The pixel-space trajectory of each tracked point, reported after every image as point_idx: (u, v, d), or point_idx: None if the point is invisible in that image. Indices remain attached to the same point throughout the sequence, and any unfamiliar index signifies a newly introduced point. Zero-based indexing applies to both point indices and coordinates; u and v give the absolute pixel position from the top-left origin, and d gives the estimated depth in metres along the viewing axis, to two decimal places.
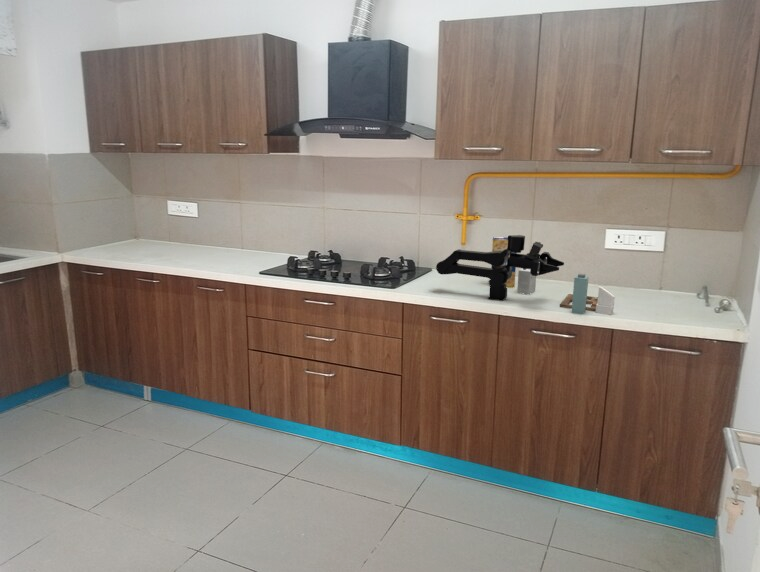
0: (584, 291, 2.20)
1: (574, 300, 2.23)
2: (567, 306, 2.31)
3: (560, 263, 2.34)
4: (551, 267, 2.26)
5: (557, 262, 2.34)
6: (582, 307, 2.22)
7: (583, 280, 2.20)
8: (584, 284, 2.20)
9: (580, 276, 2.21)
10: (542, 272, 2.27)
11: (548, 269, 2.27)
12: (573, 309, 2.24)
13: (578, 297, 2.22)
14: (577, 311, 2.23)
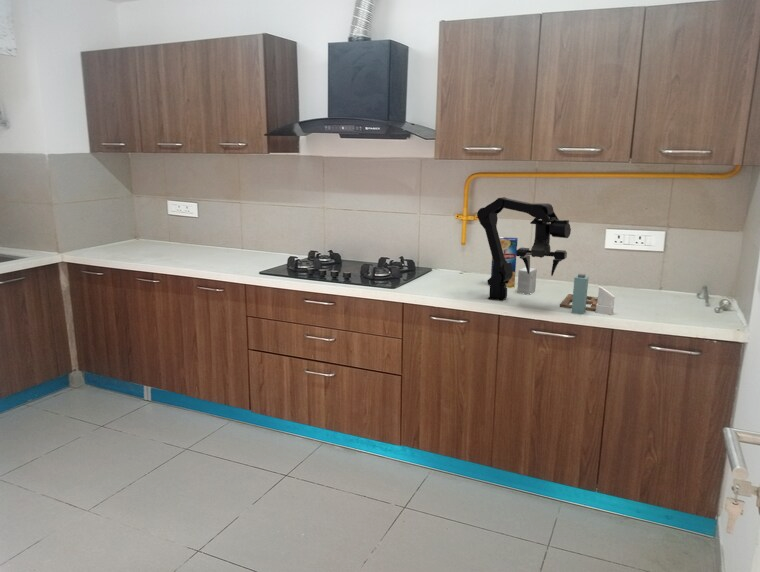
0: (584, 291, 2.20)
1: (574, 300, 2.23)
2: (567, 306, 2.31)
3: None
4: None
5: (552, 269, 2.28)
6: (582, 307, 2.22)
7: (583, 280, 2.20)
8: (584, 284, 2.20)
9: (580, 276, 2.21)
10: None
11: None
12: (573, 309, 2.24)
13: (578, 297, 2.22)
14: (577, 311, 2.23)
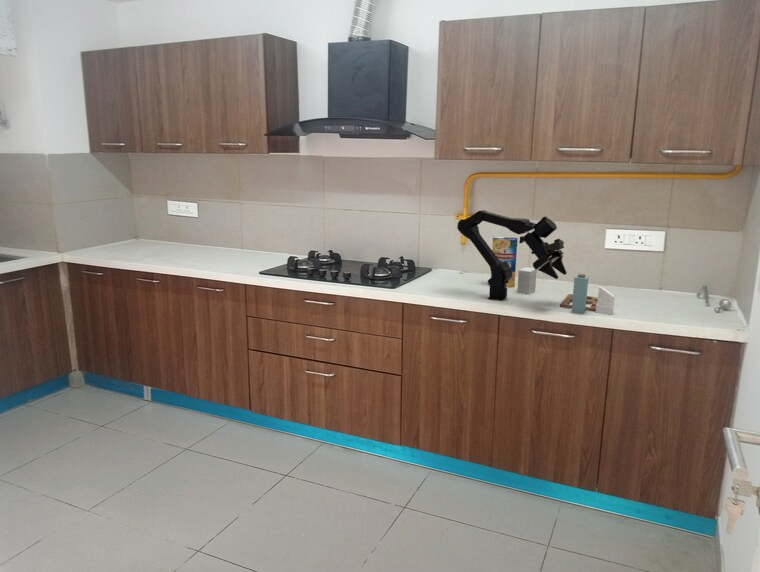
0: (584, 291, 2.20)
1: (574, 300, 2.23)
2: (567, 306, 2.31)
3: (563, 271, 2.30)
4: (552, 272, 2.23)
5: (562, 268, 2.30)
6: (582, 307, 2.22)
7: (583, 280, 2.20)
8: (584, 284, 2.20)
9: (580, 276, 2.21)
10: (542, 270, 2.24)
11: (549, 271, 2.23)
12: (573, 309, 2.24)
13: (578, 297, 2.22)
14: (577, 311, 2.23)
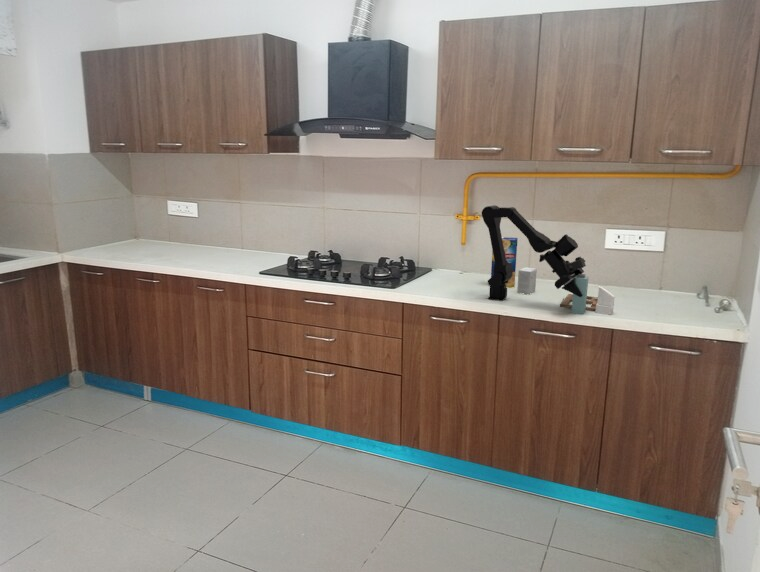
0: (584, 291, 2.20)
1: (574, 300, 2.23)
2: (567, 306, 2.31)
3: None
4: (576, 290, 2.20)
5: None
6: (582, 307, 2.22)
7: (583, 280, 2.20)
8: (584, 284, 2.20)
9: (580, 276, 2.21)
10: (566, 288, 2.22)
11: (573, 289, 2.21)
12: (573, 309, 2.24)
13: (578, 297, 2.22)
14: (577, 311, 2.23)
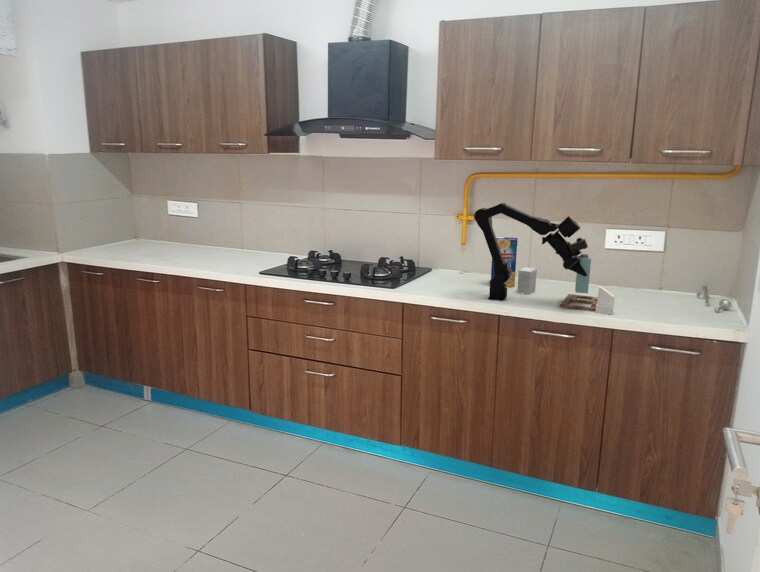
0: (588, 271, 2.27)
1: (579, 280, 2.28)
2: (567, 306, 2.31)
3: None
4: (582, 270, 2.26)
5: None
6: (586, 286, 2.28)
7: (588, 260, 2.26)
8: (589, 264, 2.26)
9: (584, 256, 2.27)
10: (572, 268, 2.27)
11: (578, 270, 2.26)
12: (577, 289, 2.29)
13: (582, 277, 2.28)
14: (581, 290, 2.29)
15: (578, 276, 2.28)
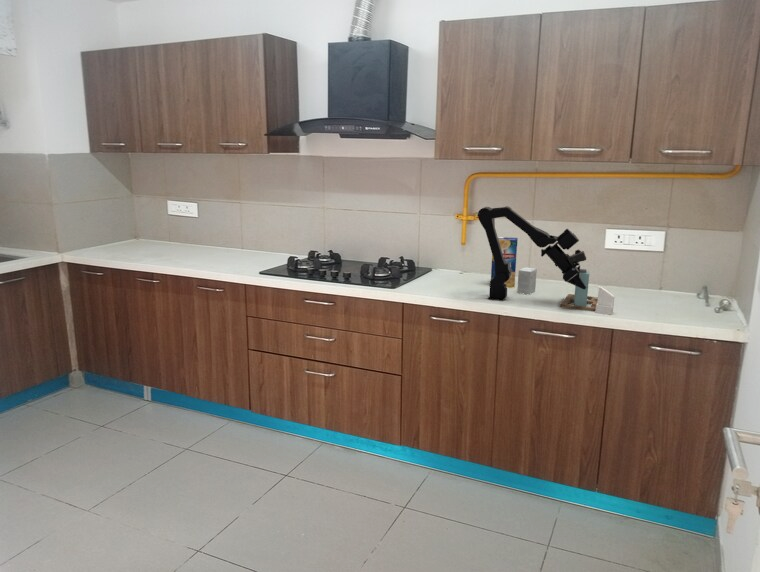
0: (587, 285, 2.29)
1: (577, 295, 2.31)
2: (567, 306, 2.31)
3: None
4: (581, 283, 2.27)
5: None
6: (585, 301, 2.31)
7: (586, 275, 2.29)
8: (587, 279, 2.29)
9: (582, 271, 2.30)
10: (571, 281, 2.27)
11: (577, 283, 2.27)
12: (576, 303, 2.32)
13: (581, 292, 2.31)
14: (580, 305, 2.32)
15: (576, 291, 2.31)
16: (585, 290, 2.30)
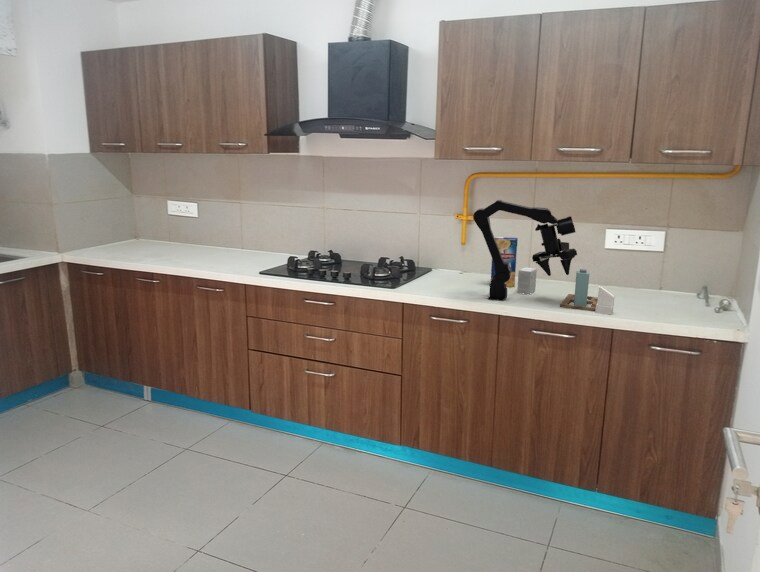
0: (587, 285, 2.29)
1: (577, 295, 2.31)
2: (567, 306, 2.31)
3: (549, 272, 2.40)
4: (568, 267, 2.31)
5: (548, 269, 2.40)
6: (585, 301, 2.31)
7: (586, 275, 2.29)
8: (587, 279, 2.29)
9: (582, 271, 2.30)
10: (565, 262, 2.29)
11: (567, 265, 2.30)
12: (576, 303, 2.32)
13: (581, 292, 2.31)
14: (580, 305, 2.32)
15: (576, 291, 2.31)
16: (585, 290, 2.30)
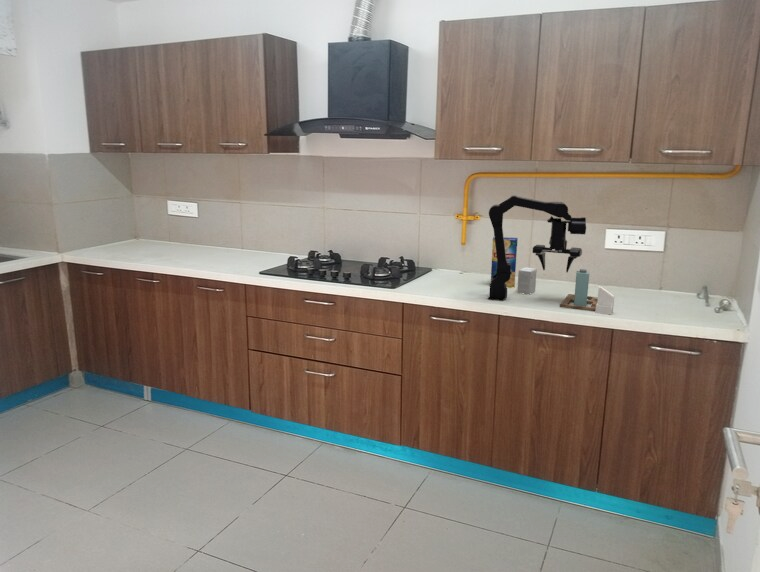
0: (587, 285, 2.29)
1: (577, 295, 2.31)
2: (567, 306, 2.31)
3: (544, 267, 2.39)
4: (570, 265, 2.34)
5: (544, 264, 2.39)
6: (585, 301, 2.31)
7: (586, 275, 2.29)
8: (587, 279, 2.29)
9: (582, 271, 2.30)
10: (572, 259, 2.31)
11: (570, 263, 2.33)
12: (576, 303, 2.32)
13: (581, 292, 2.31)
14: (580, 305, 2.32)
15: (576, 291, 2.31)
16: (585, 290, 2.30)
